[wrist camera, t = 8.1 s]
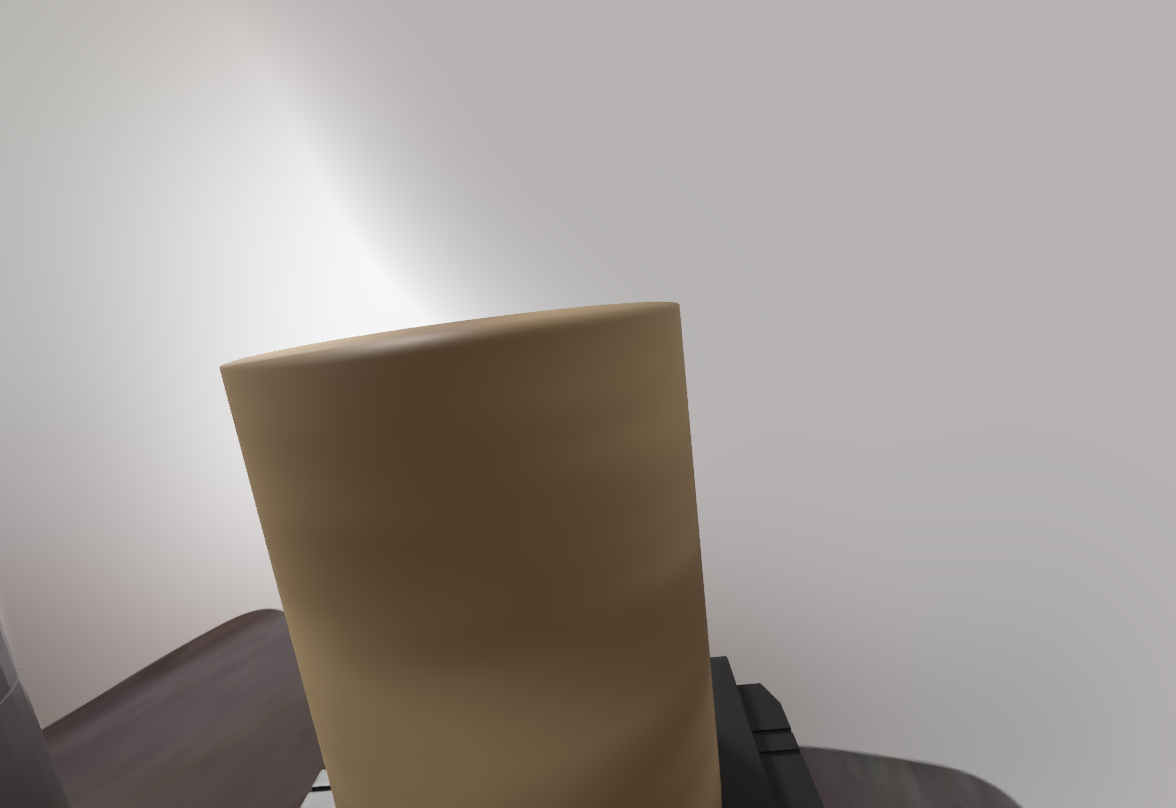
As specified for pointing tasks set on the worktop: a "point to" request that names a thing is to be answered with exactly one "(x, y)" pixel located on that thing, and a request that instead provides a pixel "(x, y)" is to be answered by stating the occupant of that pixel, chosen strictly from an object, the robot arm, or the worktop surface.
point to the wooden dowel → (491, 558)
